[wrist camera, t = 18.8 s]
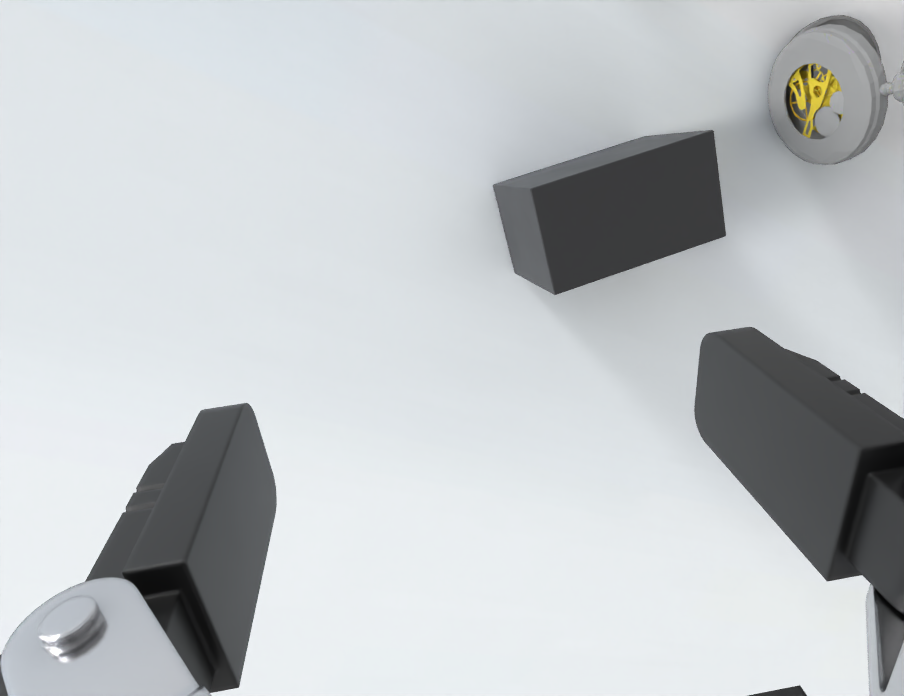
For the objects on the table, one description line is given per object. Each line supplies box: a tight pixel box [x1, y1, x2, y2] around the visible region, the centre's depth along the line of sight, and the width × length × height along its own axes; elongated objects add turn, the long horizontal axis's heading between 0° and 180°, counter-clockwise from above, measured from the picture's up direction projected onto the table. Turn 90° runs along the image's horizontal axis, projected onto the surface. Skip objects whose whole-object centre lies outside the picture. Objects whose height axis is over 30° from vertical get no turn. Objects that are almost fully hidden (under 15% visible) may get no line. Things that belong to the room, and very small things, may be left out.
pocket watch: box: [768, 15, 904, 165], centre depth 29 cm, size 8×8×10 cm
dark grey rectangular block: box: [493, 130, 726, 295], centre depth 30 cm, size 6×5×9 cm
